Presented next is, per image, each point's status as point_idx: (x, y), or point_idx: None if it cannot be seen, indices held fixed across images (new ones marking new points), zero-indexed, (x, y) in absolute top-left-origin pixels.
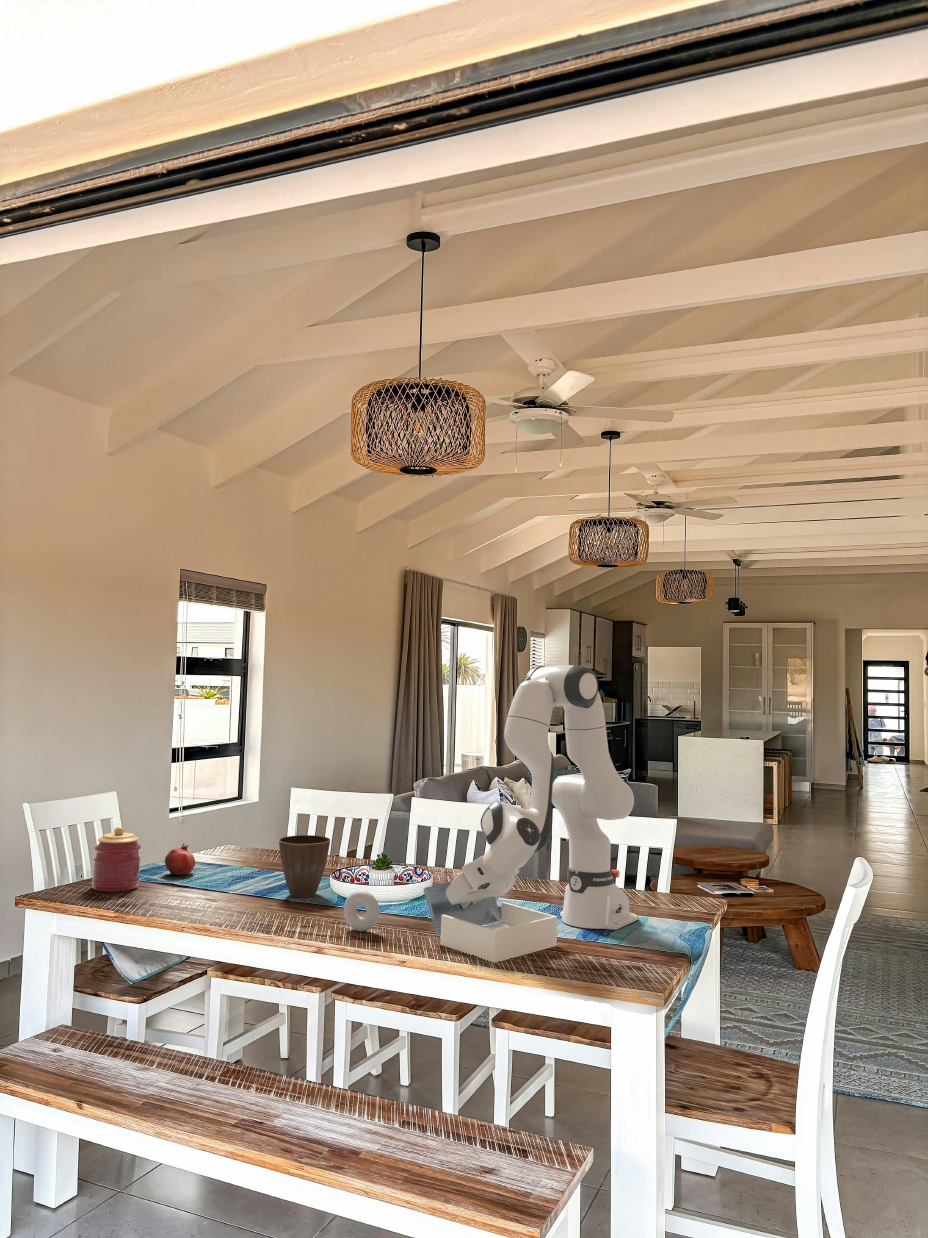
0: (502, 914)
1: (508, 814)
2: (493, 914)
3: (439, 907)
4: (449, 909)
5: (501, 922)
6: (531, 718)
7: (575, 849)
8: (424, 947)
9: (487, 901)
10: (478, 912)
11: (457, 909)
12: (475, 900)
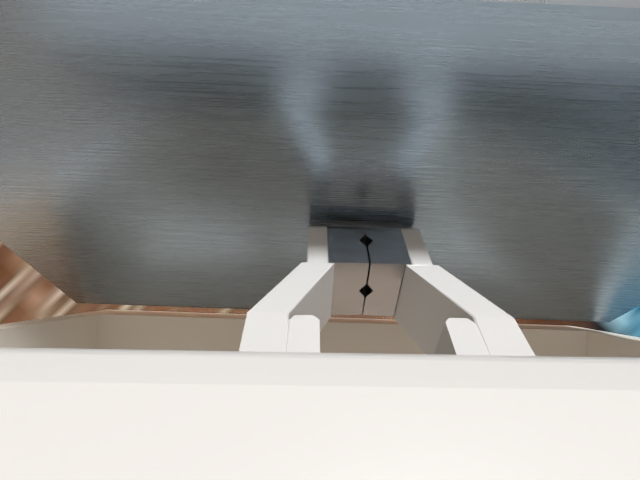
0: (629, 350)
1: None
2: (583, 299)
3: (44, 206)
4: (169, 231)
5: (584, 336)
6: None
7: None
8: (16, 287)
9: (635, 248)
10: (462, 280)
11: (260, 243)
12: (419, 331)
